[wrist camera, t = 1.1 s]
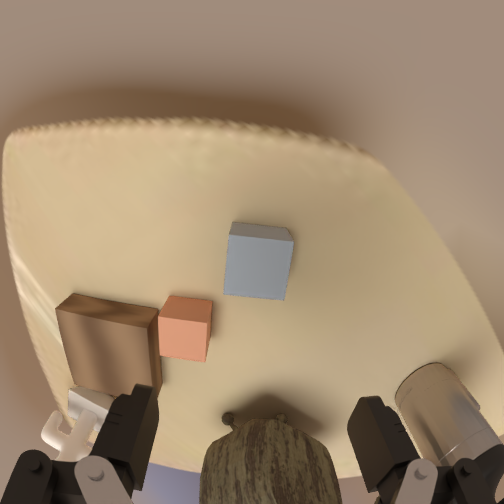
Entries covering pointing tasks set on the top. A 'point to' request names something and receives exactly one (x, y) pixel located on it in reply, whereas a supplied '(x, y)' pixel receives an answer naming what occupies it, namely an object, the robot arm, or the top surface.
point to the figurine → (77, 423)
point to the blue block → (258, 261)
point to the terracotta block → (185, 328)
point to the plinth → (110, 344)
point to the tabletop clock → (267, 466)
